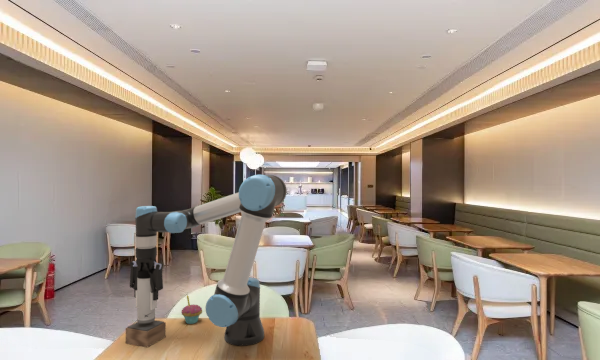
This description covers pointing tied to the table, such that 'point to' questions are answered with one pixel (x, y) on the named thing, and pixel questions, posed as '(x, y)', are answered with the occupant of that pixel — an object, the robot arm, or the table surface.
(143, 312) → the travel mug
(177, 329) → the table surface
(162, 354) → the table surface
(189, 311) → the cupcake
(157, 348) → the table surface
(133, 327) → the walnut stand
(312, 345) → the table surface
